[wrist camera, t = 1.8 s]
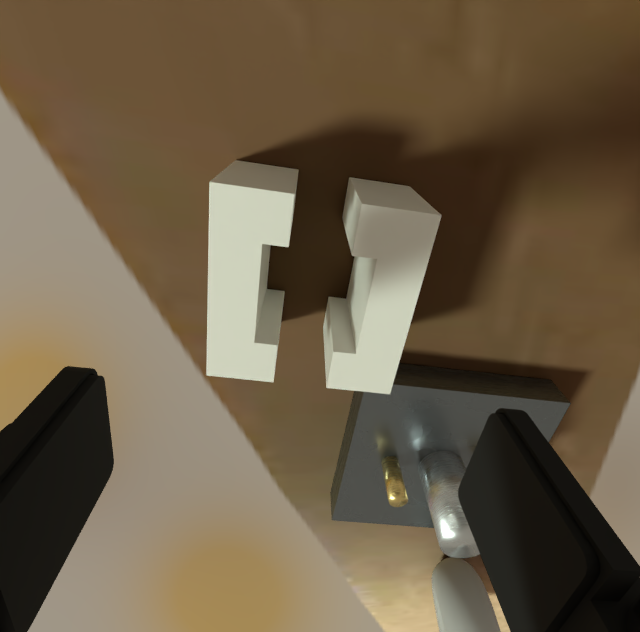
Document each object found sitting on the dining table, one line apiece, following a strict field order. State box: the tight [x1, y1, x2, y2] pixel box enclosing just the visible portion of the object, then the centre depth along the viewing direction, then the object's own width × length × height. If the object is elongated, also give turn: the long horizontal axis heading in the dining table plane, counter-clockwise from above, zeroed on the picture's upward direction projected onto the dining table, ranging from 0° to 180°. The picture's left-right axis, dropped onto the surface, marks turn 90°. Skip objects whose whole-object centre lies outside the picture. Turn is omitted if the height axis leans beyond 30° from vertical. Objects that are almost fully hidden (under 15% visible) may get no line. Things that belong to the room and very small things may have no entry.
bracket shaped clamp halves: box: [206, 160, 442, 394], centre depth 17 cm, size 8×8×5 cm
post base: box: [331, 363, 571, 558], centre depth 22 cm, size 11×11×6 cm
